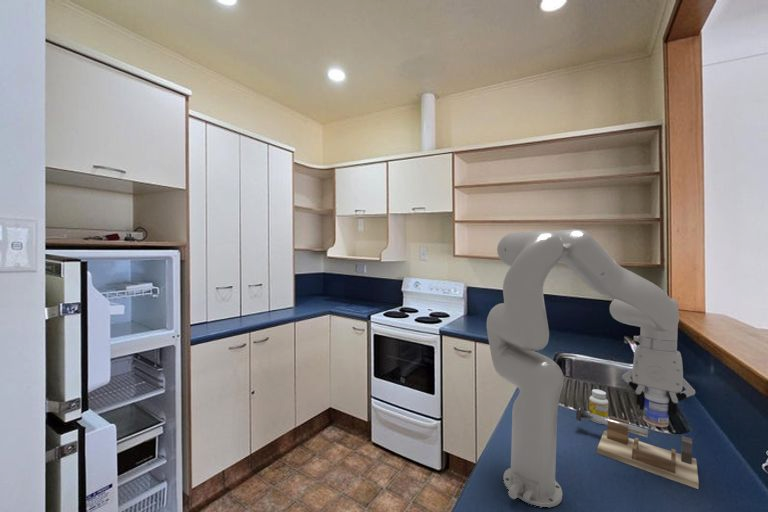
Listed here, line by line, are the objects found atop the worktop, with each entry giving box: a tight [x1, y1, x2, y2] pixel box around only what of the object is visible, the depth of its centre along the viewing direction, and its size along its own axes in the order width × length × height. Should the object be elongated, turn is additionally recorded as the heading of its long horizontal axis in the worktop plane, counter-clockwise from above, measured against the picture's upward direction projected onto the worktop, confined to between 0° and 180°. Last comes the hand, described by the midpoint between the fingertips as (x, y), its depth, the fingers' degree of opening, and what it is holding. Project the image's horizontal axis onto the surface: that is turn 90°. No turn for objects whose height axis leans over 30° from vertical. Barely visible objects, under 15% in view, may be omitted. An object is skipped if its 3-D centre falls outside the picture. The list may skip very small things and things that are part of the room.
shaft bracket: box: [596, 415, 700, 490], centre depth 90 cm, size 12×20×7 cm, turn 49°
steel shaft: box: [575, 405, 649, 438], centre depth 99 cm, size 4×17×4 cm, turn 49°
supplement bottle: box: [588, 388, 609, 425], centre depth 111 cm, size 5×5×10 cm
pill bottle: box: [642, 387, 671, 428], centre depth 88 cm, size 5×5×10 cm
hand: (655, 411), depth 88 cm, fingers closed on pill bottle, 5 cm apart
